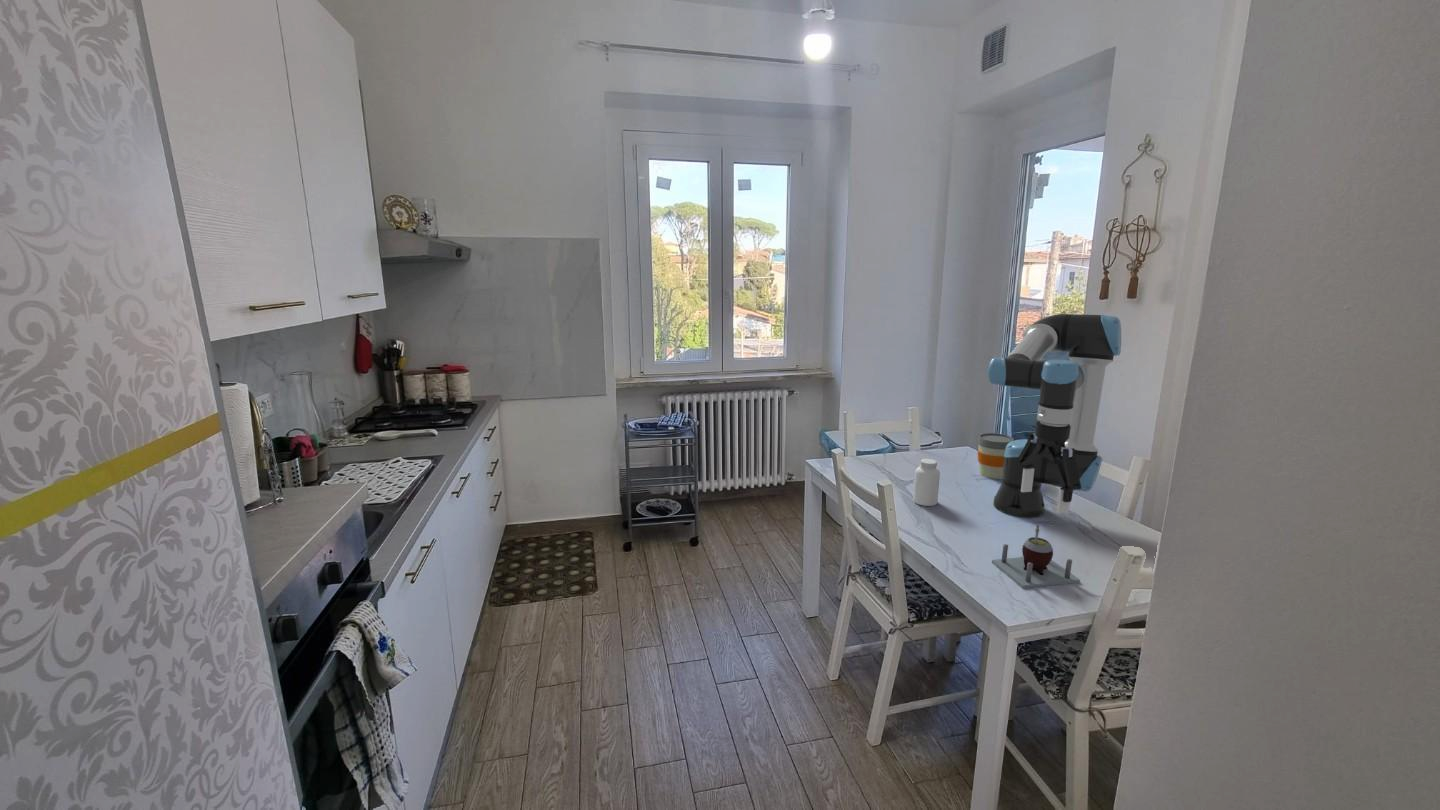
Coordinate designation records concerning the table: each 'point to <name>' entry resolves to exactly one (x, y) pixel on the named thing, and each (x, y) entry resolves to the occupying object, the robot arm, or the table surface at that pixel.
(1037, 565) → the mate gourd
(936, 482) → the pill bottle
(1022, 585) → the tray
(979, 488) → the table surface
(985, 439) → the reusable coffee cup
